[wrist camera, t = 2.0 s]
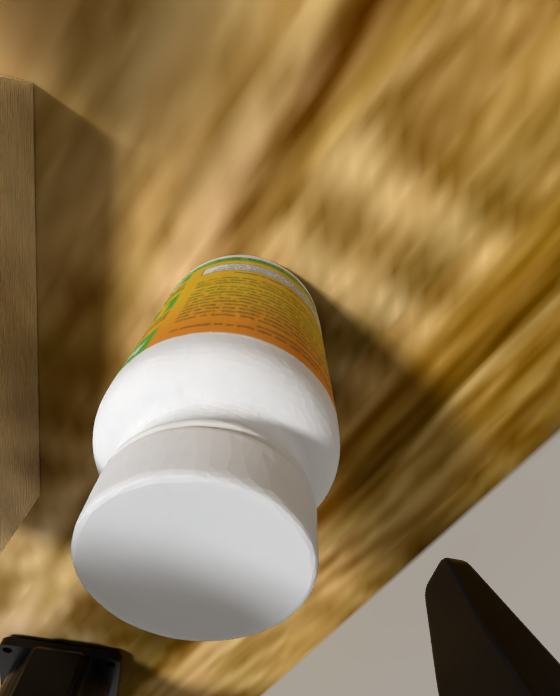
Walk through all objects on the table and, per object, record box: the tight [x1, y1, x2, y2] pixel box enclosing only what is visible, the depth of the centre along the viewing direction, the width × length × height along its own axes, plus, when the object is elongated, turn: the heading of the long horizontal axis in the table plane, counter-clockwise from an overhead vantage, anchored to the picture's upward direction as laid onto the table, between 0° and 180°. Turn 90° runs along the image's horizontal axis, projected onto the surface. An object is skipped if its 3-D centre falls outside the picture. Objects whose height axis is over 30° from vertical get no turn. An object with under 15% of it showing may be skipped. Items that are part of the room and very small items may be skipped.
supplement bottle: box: [71, 255, 340, 641], centre depth 11 cm, size 5×5×10 cm
